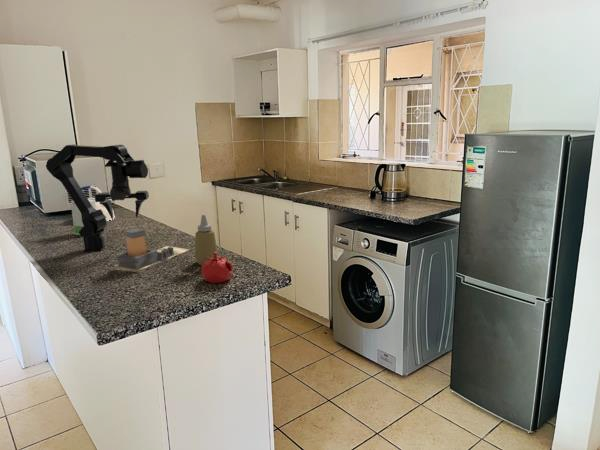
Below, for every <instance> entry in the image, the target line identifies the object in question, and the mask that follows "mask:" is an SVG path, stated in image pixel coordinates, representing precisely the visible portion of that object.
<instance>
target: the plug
mask: <svg viewBox="0 0 600 450" xmlns="http://www.w3.org/2000/svg"><path fill="white" fill-rule="evenodd" d="M124 236H125V238H126V239H125V240H126V246H127V247H126V248H127V251H128V256H135V257H138V256H141V255H143V254H146V253H147V252H146V249H147V244H146V243H147V242H146V230H145V229H142V228H138V227H137V228H131V229H127V230H124Z"/></svg>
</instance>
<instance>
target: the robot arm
mask: <svg viewBox="0 0 600 450" xmlns="http://www.w3.org/2000/svg"><path fill="white" fill-rule="evenodd" d="M77 156H78V157H96V158H97V157H98V158H102V159H105V160H107V163H106V164H105V165H104V167H106V168H107V167H108V168H109V167H110V171H111V172H110V173H111V180H112V181H111V182H112V183H111V188H110V191H108V192H102V193H98V192H97V194H95V196H94V198H95V202H100V204H103V205H104V206H105V208H106V209H107V211H108V213H109V215H110V217H111V218H112V219H113V211H114V209H113V204H112V201H113V202H115V201H124V200H126V199H136V200H135V201H134V202H135V218H137V219H138V217H139V215H140V210H141V207H142V204H143V202H145V201H146V200H148V198H150V197H149V192H148V191H147V190H137V191H136V192H131V188H130V180H129V178H130V179H146V178H147V177H148V175H149V168H148V166H147V164H146V163H145V160H144V159H139V160H137V159H136V160H135V159H134V158H133V156H132V155H131V154H130V153H129V152H128V148H127V147H126V146H125V145H123V144H114V145H107V146H99V145H98V146H97V145H96V146H95V145H93V146H92V145H80V144H79V145H77V144H67V145H65V146H64V147H63V148H62V149H61V150H60V151H58V152H57V153H56V154H55V155H53V156H52V157H51V158H49V159H47V160H46V164H45V168H46V170H47V171H48V172H49V174H50V175H51V176H52V177H54V178H55V179H56V180H57V181H59V182H60V183H61V184H62V186H63V188H64V189H65V190H66V192H67V193H68V195H69V197H70V198H71V201H74V203H75V204H76V206H77V208H78V209H79V211H80V212H81V217H82V223H83V225H84V227H83V228H82V229H81V230H80V231H79V234H80V235H79V236H80V238H82V239H83V244H84V245H83V246H84V250H83V253H84V252H85V253H87V252H88V253H89V252H100V251H102V250H103V249H104V248H105V244H106V243H105V239H104V236H103V233H104V231H105V228H106V227H107V223H108V222H107V221H106V219H105V218H106V216H105V215H104V214H103V212H102V210H101V209H99V210H96V209H94V208H93V207H92V205H91V203H90V202H89V200H88V199H87V198H88V197H87V196H86V194H85V193H84V191H83V190H82V189H81V188H82V187H80V184H79V182H77V179H76V178H75V177H74V169H73V166H72V163H73V162H75V159H76V157H77ZM109 199H111V200H112V201H111V200H109ZM112 209H113V210H112ZM113 220H114V219H113Z"/></svg>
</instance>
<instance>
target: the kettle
mask: <svg viewBox="0 0 600 450" xmlns="http://www.w3.org/2000/svg"><path fill="white" fill-rule="evenodd" d="M80 188H81V189H82V191H83V190H87V189H89V190H90V189H93V190H94V191H96V192H97V194H98V193H103V192H102V190H100V188H98V187H96V186H94V185H86V186H82V187H80ZM87 199H89V200H95V197H87ZM109 200H111V199H109ZM111 202H112V200H111ZM95 208H96V210H99V209H101V210H102V212H103V214H104V215H105V216H106V218H105V219H106V221H108V222H110V221H109V220H111V221H113V220H115V219H116V216H115V212H114V209H113V208H112V210H113V220H112V218H111V217H110V215H109V213H108V211H107V209H106V208H105V206H104V205H103V204H100V202H95ZM114 218H115V219H114Z"/></svg>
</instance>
